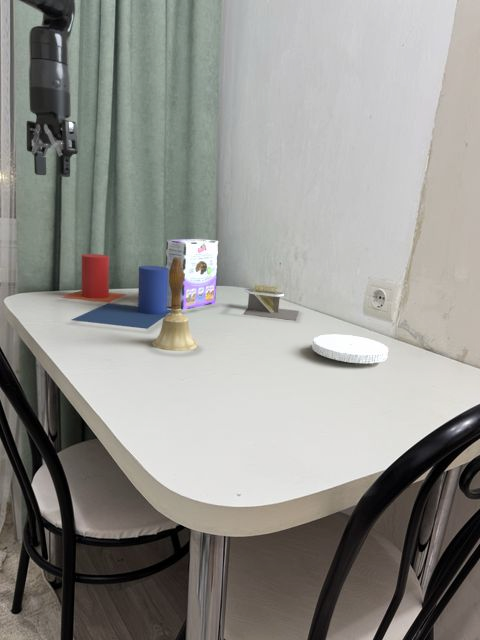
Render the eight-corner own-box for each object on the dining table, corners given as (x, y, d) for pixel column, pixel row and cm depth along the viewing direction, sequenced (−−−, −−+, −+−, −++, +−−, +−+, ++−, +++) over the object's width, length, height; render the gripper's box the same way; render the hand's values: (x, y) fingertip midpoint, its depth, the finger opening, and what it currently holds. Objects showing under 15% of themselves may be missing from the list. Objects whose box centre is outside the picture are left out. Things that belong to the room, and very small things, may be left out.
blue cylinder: (134, 312, 113) (134, 267, 111) (143, 307, 119) (144, 264, 117) (161, 315, 113) (163, 270, 110) (169, 310, 119) (171, 267, 116)
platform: (295, 320, 122) (298, 293, 120) (223, 311, 124) (224, 285, 122) (299, 310, 134) (301, 286, 132) (232, 303, 135) (234, 278, 134)
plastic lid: (297, 354, 94) (298, 341, 93) (334, 342, 105) (336, 330, 104) (365, 374, 86) (367, 360, 86) (398, 359, 97) (400, 346, 96)
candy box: (197, 300, 134) (201, 238, 130) (215, 304, 132) (219, 240, 127) (163, 307, 123) (165, 238, 118) (182, 311, 120) (185, 241, 116)
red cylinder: (77, 296, 124) (76, 255, 122) (88, 292, 130) (88, 253, 128) (102, 299, 124) (102, 258, 121) (112, 295, 130) (112, 255, 127)
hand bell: (158, 354, 87) (161, 260, 83) (146, 340, 94) (149, 254, 90) (204, 351, 91) (209, 262, 86) (189, 339, 98) (193, 256, 93)
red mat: (60, 298, 122) (60, 297, 122) (83, 291, 133) (82, 289, 133) (108, 304, 121) (108, 302, 121) (127, 295, 133) (127, 294, 132)
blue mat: (70, 321, 102) (70, 319, 102) (108, 304, 121) (108, 303, 120) (147, 330, 101) (147, 328, 101) (173, 311, 119) (173, 310, 119)
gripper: (88, 92, 99) (88, 179, 103) (47, 95, 106) (49, 176, 111) (53, 82, 93) (55, 175, 97) (12, 86, 101) (15, 172, 105)
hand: (52, 175), depth 104 cm, fingers open, 8 cm apart
